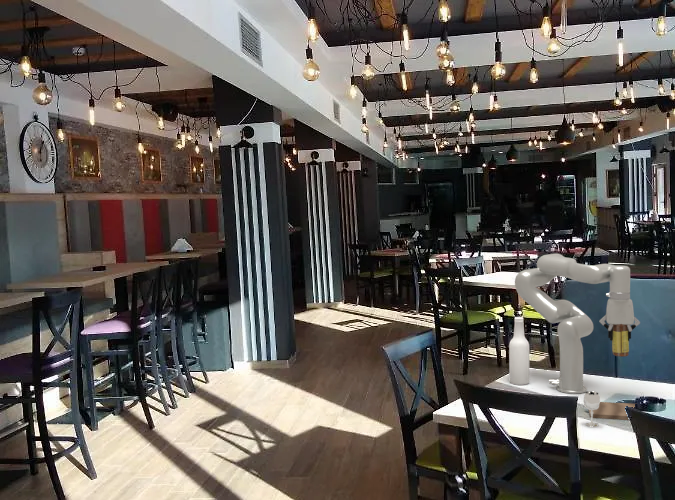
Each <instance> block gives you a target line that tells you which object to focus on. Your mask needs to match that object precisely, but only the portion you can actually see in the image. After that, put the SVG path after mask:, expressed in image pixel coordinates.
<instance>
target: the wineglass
mask: <svg viewBox="0 0 675 500" xmlns="http://www.w3.org/2000/svg"><path fill="white" fill-rule="evenodd" d="M600 402H601V398H600V393H599V392H596V391H593V390H592V391H591V390H587V391H586V392H584V395H583V405H584V407H585V408H586V409H587V410H588V409H589V410H591V412H590V413H591V418H590V422H586V423H585V426H587V427H591V428H597V427H599V424H598V423H595V422H594V421H593V419H594V418H592V417H593V410H596V409H598V408H599V407H600Z"/></svg>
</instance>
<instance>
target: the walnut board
mask: <svg viewBox="0 0 675 500" xmlns="http://www.w3.org/2000/svg"><path fill="white" fill-rule="evenodd" d="M635 404H636V403H628V402H627V403H626V402H607V401H600V407H599V408H598V409H596V410H593V417H592V418H593V419H606V420H619V421H621V420H623V421H629V420H628V417H627V414H626V411H625V407H626V406H628V407H633V408H634V407H635ZM587 410H588V415H589V418H590V419H591V413H590V412H591V410H589V409H587Z"/></svg>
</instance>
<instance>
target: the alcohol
mask: <svg viewBox="0 0 675 500" xmlns="http://www.w3.org/2000/svg"><path fill="white" fill-rule="evenodd" d="M508 348H509V350H508V354H509V355H508V357H509V358H508V359H509V360H508V361H509V365H508V367H509V372H508V373H509V379H508V381H509V382H510V384H512V385H516V386H526V385H529V383H530V380H531V379H530V343H529V341H528V340H527V338H526V336H525V327H524V317H521V316H515V317H514V327H513V336H512V338H511V339H510V341H509V345H508Z"/></svg>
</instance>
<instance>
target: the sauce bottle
mask: <svg viewBox="0 0 675 500" xmlns="http://www.w3.org/2000/svg"><path fill="white" fill-rule="evenodd" d="M629 344H630V340H629V341H628V327H627V325H624V324H617V325H613V327H612V343H611V345H612V346H611V349H612V355H613V356H615V357H620V358H621V357H623V358H624V357H629V352H630V345H629Z"/></svg>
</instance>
